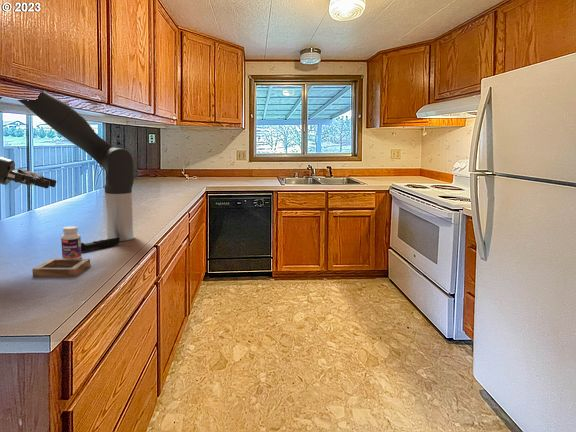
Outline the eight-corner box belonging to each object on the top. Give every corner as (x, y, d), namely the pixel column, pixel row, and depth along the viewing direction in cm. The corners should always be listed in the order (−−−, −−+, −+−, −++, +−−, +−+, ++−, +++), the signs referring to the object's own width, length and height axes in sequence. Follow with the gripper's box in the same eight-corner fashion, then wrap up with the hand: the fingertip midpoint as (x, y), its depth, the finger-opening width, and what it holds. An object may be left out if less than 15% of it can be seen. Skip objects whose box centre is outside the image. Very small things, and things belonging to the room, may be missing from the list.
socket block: (51, 265, 134) (51, 258, 133) (90, 265, 134) (90, 258, 134) (32, 276, 123) (32, 269, 122) (74, 276, 123) (74, 269, 123)
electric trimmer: (122, 246, 160) (122, 237, 159) (79, 254, 148) (78, 244, 147) (116, 245, 162) (115, 236, 162) (73, 252, 150) (72, 242, 149)
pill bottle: (60, 260, 138) (58, 229, 137) (65, 256, 144) (63, 225, 142) (79, 260, 140) (77, 228, 138) (83, 255, 145) (81, 225, 143)
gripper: (-13, 155, 125) (50, 172, 130) (4, 156, 139) (61, 172, 143) (-21, 181, 125) (43, 198, 130) (-3, 180, 139) (54, 195, 144)
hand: (52, 184), depth 137 cm, fingers open, 8 cm apart
